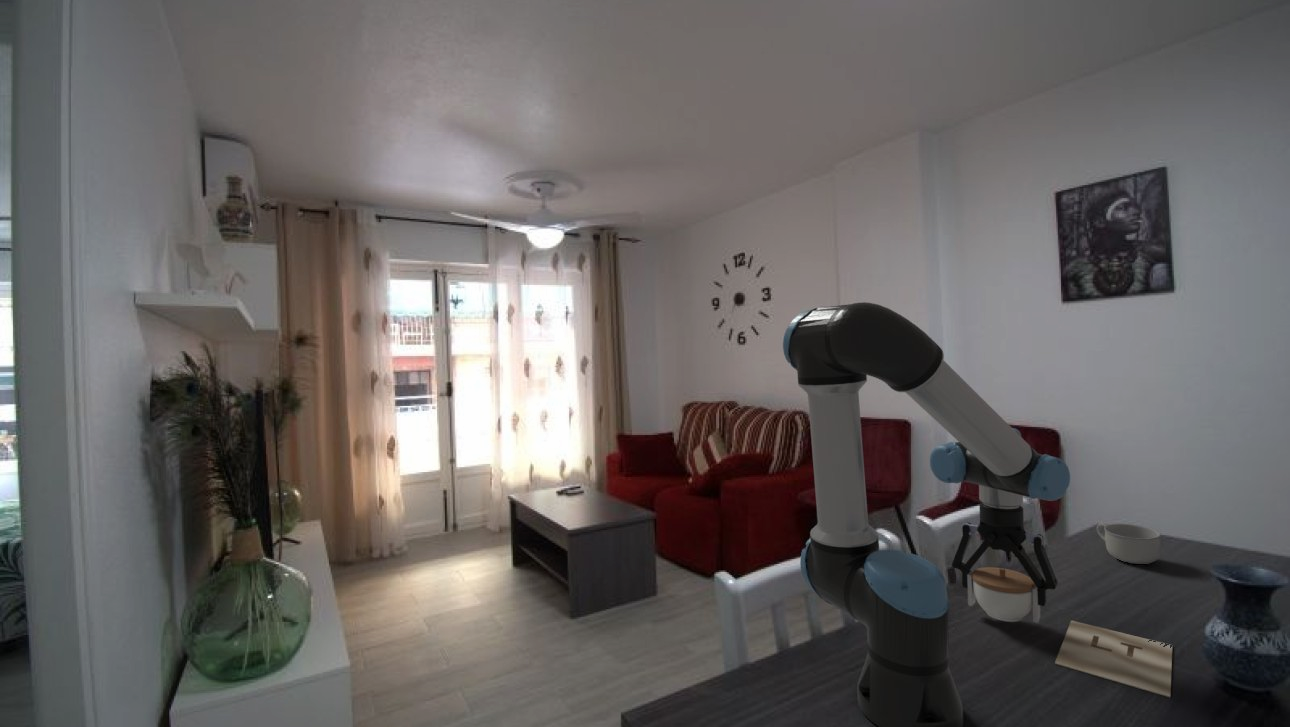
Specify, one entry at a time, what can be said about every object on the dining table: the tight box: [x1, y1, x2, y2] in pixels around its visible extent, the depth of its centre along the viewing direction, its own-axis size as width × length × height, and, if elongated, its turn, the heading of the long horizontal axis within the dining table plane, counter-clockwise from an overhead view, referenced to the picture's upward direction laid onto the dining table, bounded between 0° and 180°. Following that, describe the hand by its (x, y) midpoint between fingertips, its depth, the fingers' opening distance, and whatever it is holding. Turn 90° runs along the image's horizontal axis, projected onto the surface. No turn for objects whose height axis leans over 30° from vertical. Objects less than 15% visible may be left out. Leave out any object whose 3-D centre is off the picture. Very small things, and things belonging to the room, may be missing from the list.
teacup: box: [1096, 522, 1161, 565], centre depth 145 cm, size 14×11×8 cm
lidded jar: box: [972, 566, 1035, 623], centre depth 115 cm, size 11×11×9 cm
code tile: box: [1054, 620, 1173, 698], centre depth 102 cm, size 20×15×1 cm
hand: (1003, 611), depth 115 cm, fingers closed on lidded jar, 11 cm apart
